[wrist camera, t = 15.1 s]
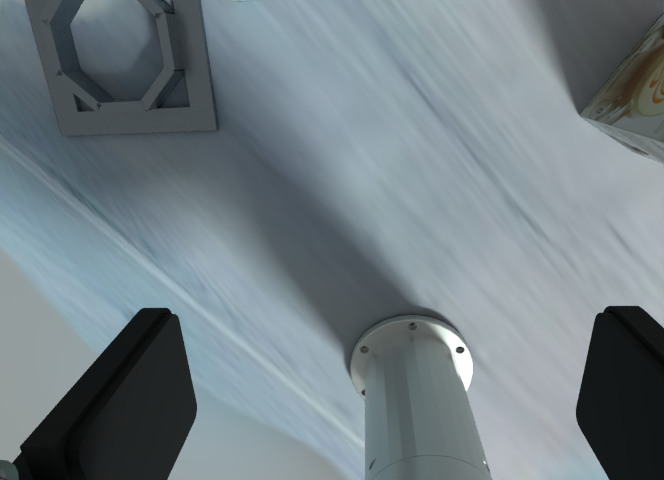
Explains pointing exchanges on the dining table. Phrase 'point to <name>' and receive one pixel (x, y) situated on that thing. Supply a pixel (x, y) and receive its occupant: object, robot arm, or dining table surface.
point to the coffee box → (635, 99)
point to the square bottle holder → (131, 114)
